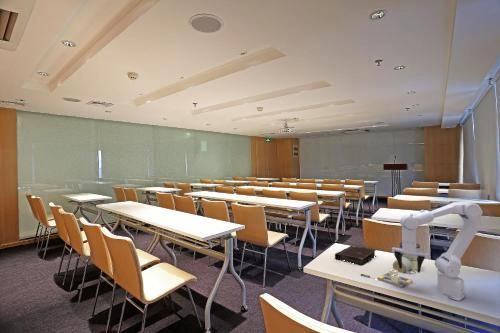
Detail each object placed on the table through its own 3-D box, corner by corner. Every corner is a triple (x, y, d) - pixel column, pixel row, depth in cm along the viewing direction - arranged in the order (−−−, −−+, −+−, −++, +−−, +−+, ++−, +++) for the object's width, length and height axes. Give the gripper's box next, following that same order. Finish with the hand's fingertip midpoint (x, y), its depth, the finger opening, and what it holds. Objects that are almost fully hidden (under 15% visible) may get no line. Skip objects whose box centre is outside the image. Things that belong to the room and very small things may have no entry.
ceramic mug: (391, 272, 146) (391, 258, 146) (397, 268, 152) (397, 255, 152) (412, 278, 138) (412, 263, 138) (418, 274, 144) (418, 260, 144)
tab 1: (398, 278, 135) (397, 269, 135) (395, 279, 133) (395, 270, 133) (392, 276, 137) (392, 267, 137) (389, 278, 136) (389, 269, 136)
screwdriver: (382, 282, 133) (382, 278, 133) (381, 283, 132) (381, 279, 132) (361, 276, 140) (361, 273, 140) (360, 277, 139) (360, 274, 139)
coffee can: (396, 265, 156) (395, 242, 156) (409, 264, 159) (409, 241, 159) (410, 272, 146) (410, 247, 146) (425, 270, 149) (424, 245, 149)
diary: (334, 260, 168) (334, 252, 169) (350, 251, 186) (350, 244, 186) (363, 267, 155) (363, 258, 156) (378, 257, 173) (377, 249, 173)
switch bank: (412, 284, 130) (412, 280, 130) (402, 290, 124) (401, 285, 124) (388, 276, 140) (388, 272, 140) (377, 281, 134) (377, 277, 134)
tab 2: (400, 284, 128) (400, 274, 128) (397, 285, 126) (397, 276, 127) (394, 282, 131) (394, 272, 131) (391, 283, 129) (391, 274, 129)
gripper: (428, 242, 122) (429, 271, 121) (394, 237, 132) (394, 264, 131) (426, 245, 117) (426, 276, 116) (390, 240, 126) (391, 268, 126)
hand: (409, 270), depth 123 cm, fingers open, 7 cm apart
